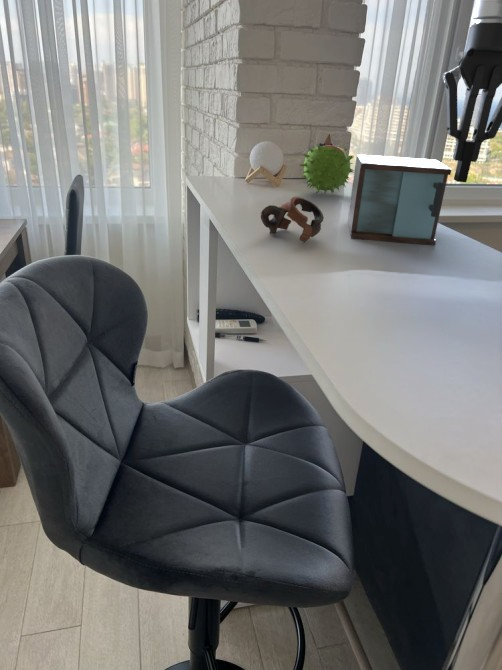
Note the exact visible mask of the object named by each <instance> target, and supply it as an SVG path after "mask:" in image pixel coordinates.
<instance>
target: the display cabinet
mask: <svg viewBox="0 0 502 670" xmlns="http://www.w3.org/2000/svg"><path fill="white" fill-rule="evenodd" d="M354 170H355V171H353V180H352V187H351V194H350V201H349V210H348V217H347V227H348V230H349V231H348V232H349V235H350V239H355V240H365V239H367V240H366V241H368V240H369V241H378V240H380V241H379V242H392V243H404V244H414V243H415V245H416V244H417V245H428V246H435V245H436V244H437V243H436V242H437V239H435V237H436V233H437V228H438V224H439V219H440V214H441V211H442V205H443V200H444V196H445V191H446V187H447V181H448V177H449V176H451V174H452V168H450V167H448V166H447V165H445V164H444V163H442V162H440V161H439V160H437V159H429V158H414V157H401V156H386V155H384V156H383V155H371V154H369V155H367V154H356V158H355V166H354ZM403 172H415V173H429V174H443V175H444V178H443V183H444V188H443V192H442V197H441V202H440V206H439V211H438V216H437V217H435V221H434V225H433V230H432V235H431V239H421V238H409V237H397V236H392V234H393V229H394V223H395V217H396V212H397V206H398V200H399V195H400V189H401V184H402V178H403Z"/></svg>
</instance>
